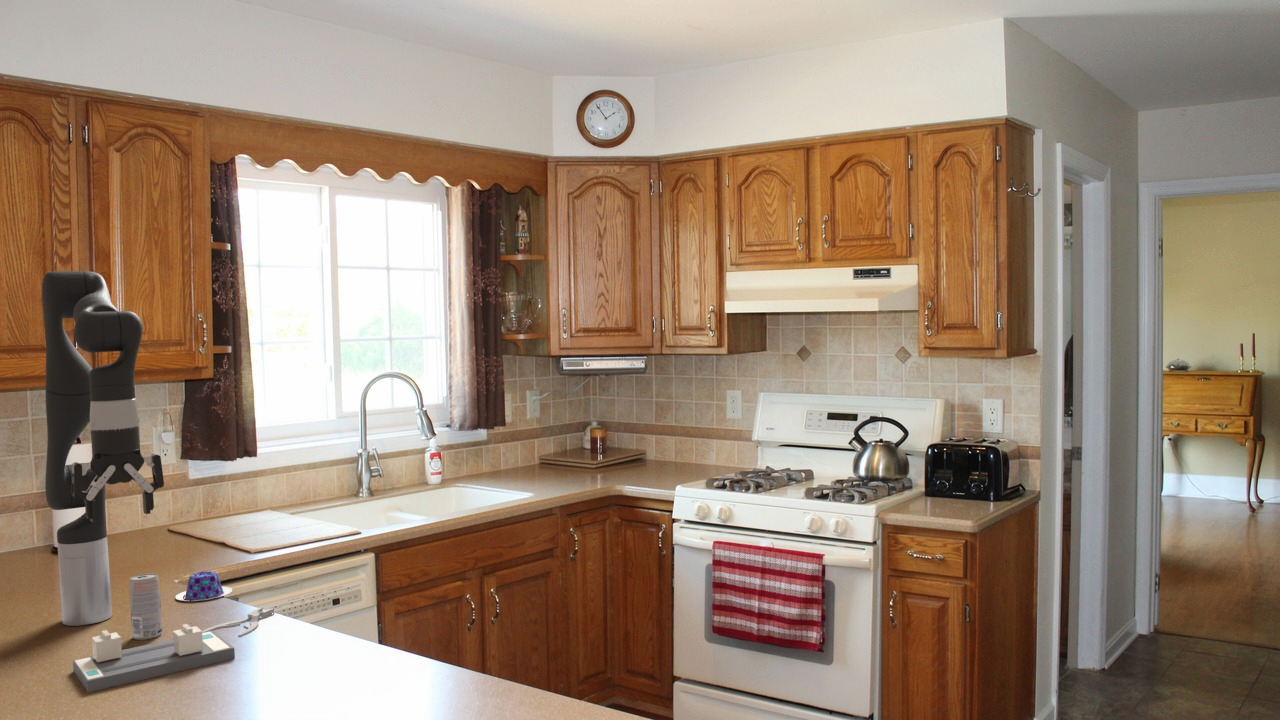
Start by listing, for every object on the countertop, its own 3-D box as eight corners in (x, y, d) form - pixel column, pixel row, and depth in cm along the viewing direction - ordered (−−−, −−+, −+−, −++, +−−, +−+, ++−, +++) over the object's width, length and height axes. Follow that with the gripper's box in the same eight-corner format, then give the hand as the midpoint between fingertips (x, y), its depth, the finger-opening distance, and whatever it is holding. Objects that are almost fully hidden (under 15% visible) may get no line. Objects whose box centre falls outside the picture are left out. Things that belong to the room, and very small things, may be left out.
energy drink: (156, 630, 204) (153, 571, 204) (166, 635, 201) (162, 575, 200) (128, 636, 201) (124, 577, 200) (137, 642, 197) (134, 581, 196)
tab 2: (174, 650, 184) (172, 626, 183) (197, 645, 186) (195, 621, 186) (179, 655, 180) (178, 631, 180) (203, 650, 183) (201, 626, 183)
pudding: (179, 607, 222) (178, 583, 221) (171, 595, 232) (170, 573, 232) (237, 597, 228) (236, 574, 228) (226, 586, 238) (225, 564, 238)
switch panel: (73, 671, 181) (72, 659, 181) (213, 640, 196) (212, 629, 196) (88, 692, 170) (87, 680, 170) (234, 658, 185) (234, 646, 185)
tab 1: (93, 656, 182) (91, 632, 182) (117, 651, 184) (116, 627, 184) (97, 662, 179) (95, 637, 178) (122, 657, 181) (120, 632, 181)
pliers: (198, 628, 200) (247, 606, 215) (199, 636, 201) (247, 613, 215) (241, 630, 198) (287, 608, 212) (241, 638, 198) (287, 615, 212)
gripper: (153, 420, 184) (158, 508, 185) (64, 428, 175) (70, 520, 176) (163, 422, 178) (169, 514, 179) (72, 431, 169) (78, 527, 170)
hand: (120, 517), depth 177 cm, fingers open, 8 cm apart
